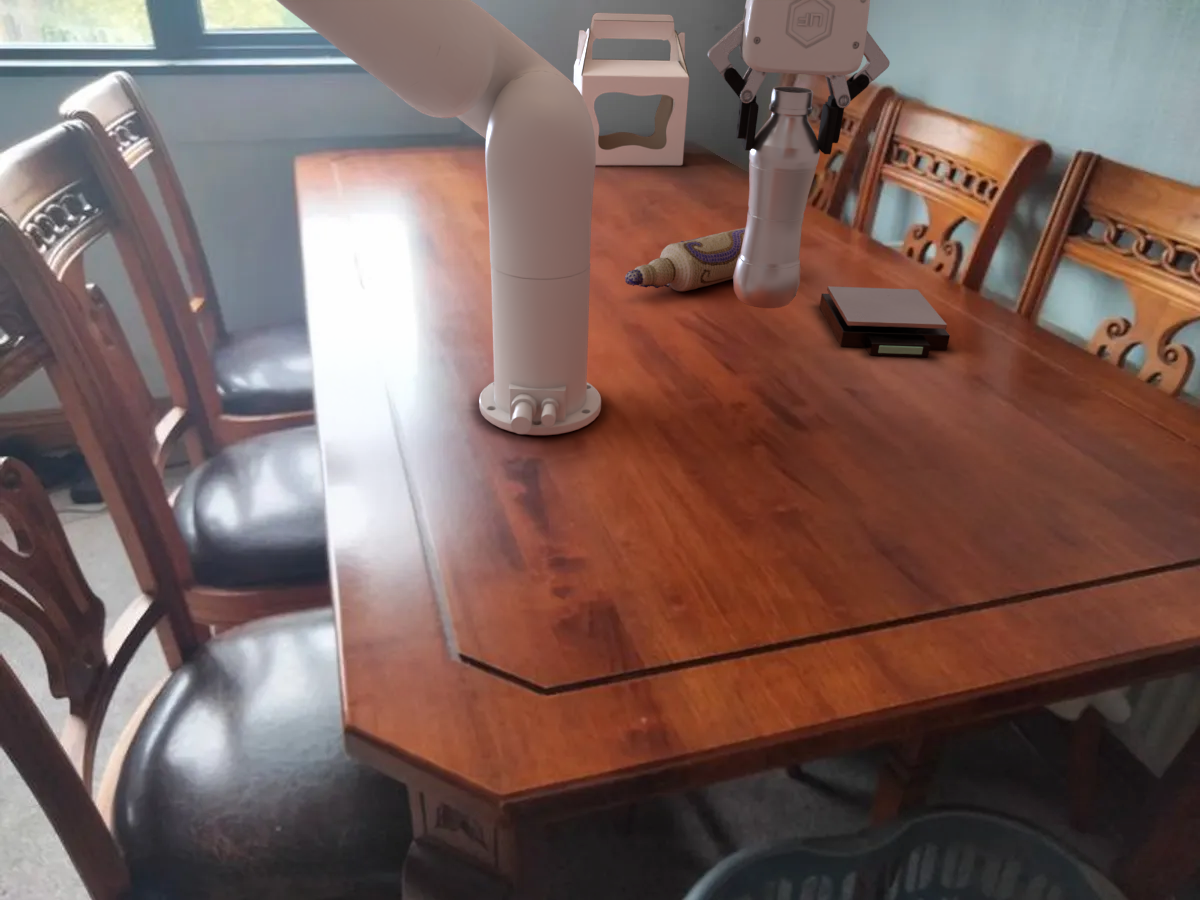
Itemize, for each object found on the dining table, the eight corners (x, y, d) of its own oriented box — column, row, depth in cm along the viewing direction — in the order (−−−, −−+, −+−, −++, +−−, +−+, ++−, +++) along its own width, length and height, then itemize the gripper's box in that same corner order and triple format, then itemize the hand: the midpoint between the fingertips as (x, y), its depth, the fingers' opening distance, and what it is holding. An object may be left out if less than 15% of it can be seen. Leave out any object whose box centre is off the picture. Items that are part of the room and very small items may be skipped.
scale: (953, 359, 109) (959, 334, 107) (845, 355, 109) (849, 330, 107) (915, 310, 122) (920, 288, 121) (819, 307, 122) (823, 284, 120)
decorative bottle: (745, 261, 138) (750, 217, 134) (780, 276, 132) (787, 231, 129) (607, 292, 124) (609, 244, 121) (640, 310, 119) (644, 261, 116)
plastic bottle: (720, 307, 89) (745, 90, 79) (744, 287, 94) (770, 81, 84) (783, 321, 86) (817, 99, 76) (804, 300, 92) (839, 89, 81)
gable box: (578, 165, 187) (581, 15, 173) (571, 151, 198) (573, 9, 184) (683, 165, 190) (695, 18, 176) (670, 151, 201) (680, 11, 187)
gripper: (715, -84, 70) (693, 154, 79) (938, -73, 70) (890, 163, 79) (707, -84, 77) (687, 136, 86) (910, -74, 77) (870, 145, 86)
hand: (785, 147), depth 83 cm, fingers closed on plastic bottle, 6 cm apart
